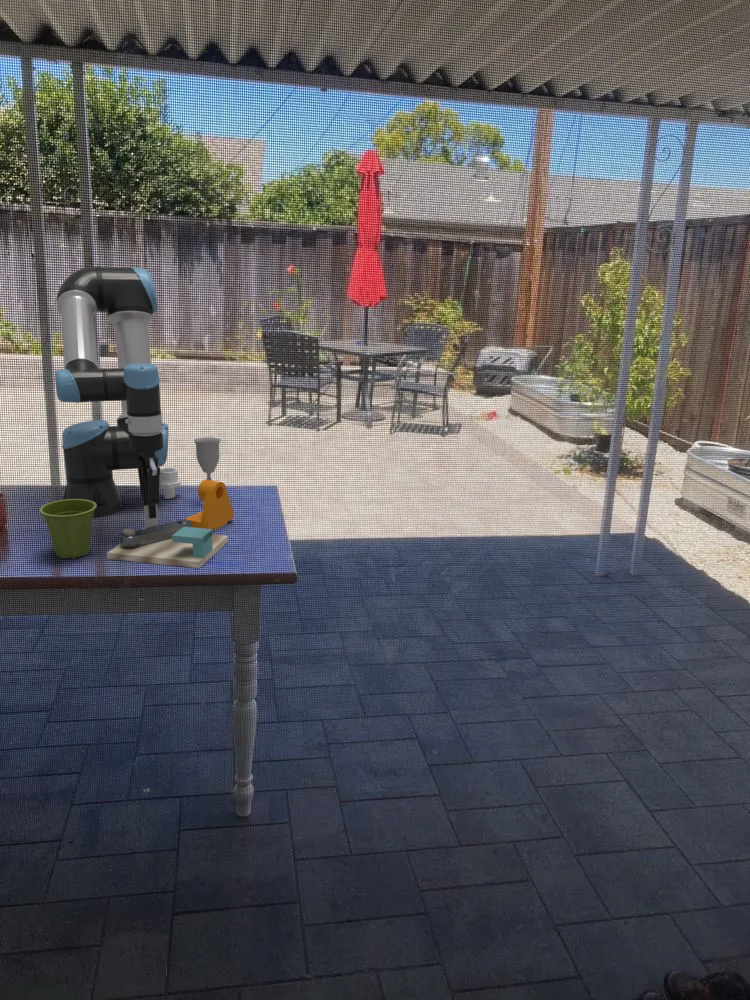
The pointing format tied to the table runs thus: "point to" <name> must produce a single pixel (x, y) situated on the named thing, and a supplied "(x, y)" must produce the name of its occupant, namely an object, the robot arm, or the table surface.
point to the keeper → (195, 539)
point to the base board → (165, 552)
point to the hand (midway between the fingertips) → (152, 529)
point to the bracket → (212, 506)
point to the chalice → (207, 454)
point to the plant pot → (70, 526)
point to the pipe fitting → (169, 481)
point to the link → (152, 534)
